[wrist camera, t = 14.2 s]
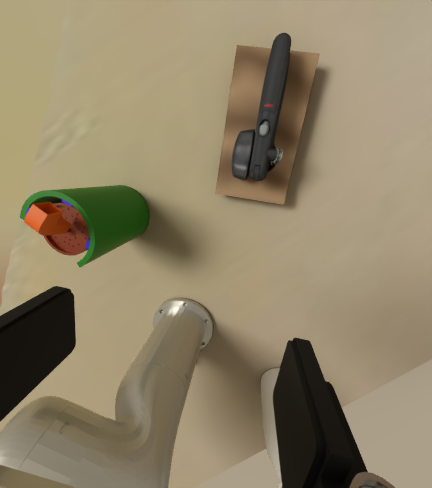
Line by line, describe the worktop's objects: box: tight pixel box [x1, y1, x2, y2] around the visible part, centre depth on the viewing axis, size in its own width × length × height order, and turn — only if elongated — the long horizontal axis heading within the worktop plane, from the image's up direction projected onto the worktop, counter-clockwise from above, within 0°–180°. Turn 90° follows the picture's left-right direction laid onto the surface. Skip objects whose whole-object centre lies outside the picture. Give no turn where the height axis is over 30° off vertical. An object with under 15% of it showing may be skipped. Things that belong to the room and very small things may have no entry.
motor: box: [20, 185, 149, 267], centre depth 33 cm, size 10×9×20 cm
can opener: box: [232, 33, 291, 181], centre depth 30 cm, size 18×7×6 cm, turn 168°
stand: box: [215, 45, 319, 205], centre depth 35 cm, size 20×11×3 cm, turn 171°
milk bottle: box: [261, 368, 282, 488], centre depth 39 cm, size 8×8×20 cm
